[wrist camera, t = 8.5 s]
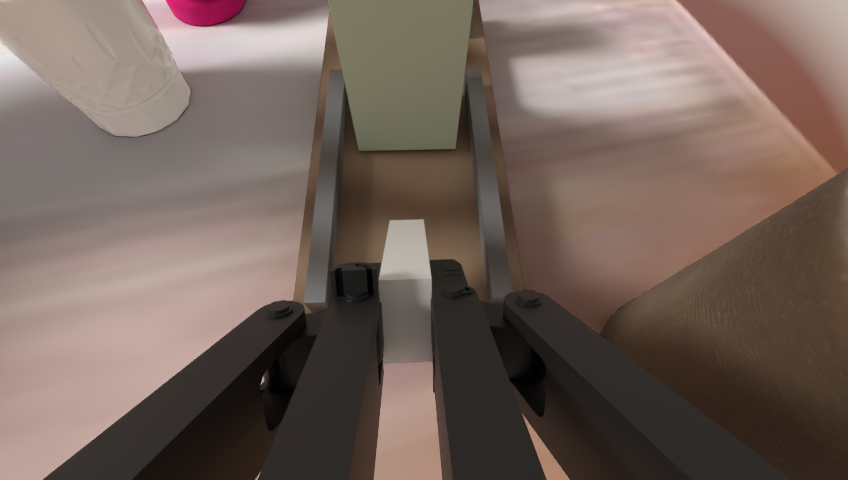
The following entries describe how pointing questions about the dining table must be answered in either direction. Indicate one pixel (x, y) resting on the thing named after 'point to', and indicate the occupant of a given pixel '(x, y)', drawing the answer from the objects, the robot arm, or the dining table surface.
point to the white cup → (99, 60)
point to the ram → (403, 69)
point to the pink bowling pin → (205, 10)
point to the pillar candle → (760, 335)
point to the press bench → (409, 190)
